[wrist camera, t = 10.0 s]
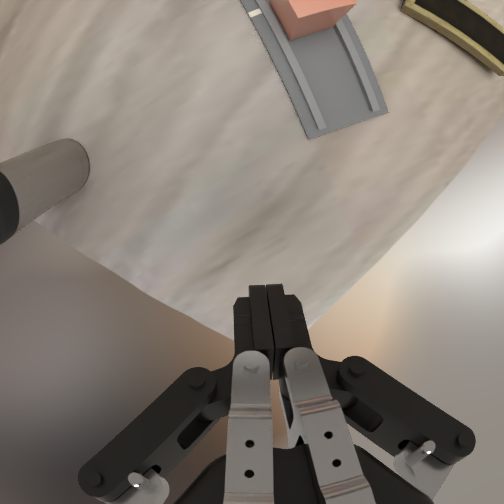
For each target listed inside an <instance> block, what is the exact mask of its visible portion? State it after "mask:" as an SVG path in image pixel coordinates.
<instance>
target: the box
mask: <svg viewBox="0 0 504 504" xmlns="http://www.w3.org/2000/svg"><path fill="white" fill-rule="evenodd" d="M401 12H403V13H405V14H407V15H409V16H411V17H413V18H415V19H416V20H418V21H420V22H422V23H424V24H425V25H427V26H429V27H431V28H432V29H434V30H436V31H437V32H439V33H441V34H442V35H444V36H445V37H447V38H448V39H450V40H451V41H453V42H455V43H456V44H457V45H459V46H460V47H462V48H463V49H465V50H466V51H467V52H469V53H470V54H472V55H473V56H474V57H476V58H477V59H478V60H480V61H481V62H482V63H484V64H485V65H486V66H487V67H489V68H490V69H491V70H493V71H494V72H495V73H496V74H498V75H499V76H504V28H503V27H501V26H500V25H499V24H498V23H496V22H495V21H494V20H493V19H491V18H490V17H489V16H488V15H486V14H485V13H484V12H482V11H481V10H479V9H478V8H477V7H475V6H474V5H472V4H471V3H470V2H468V1H467V0H404V3H403V6H402V9H401Z"/></svg>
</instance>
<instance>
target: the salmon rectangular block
mask: <svg viewBox="0 0 504 504" xmlns="http://www.w3.org/2000/svg"><path fill="white" fill-rule="evenodd" d="M269 4H270V6H271V8H272V10H273V11H274V13H275V15H276V17H277V19H278V20H279V22H280V24H281V26H282V28H283V30H284V32H285V34H286V36H287V37H288V39H289V41H291V40H294V39H297V38H300V37H303V36H306V35H309V34H313V33H316V32H319V31H323V30H326V29H330V28H332V27H333V26H334V25H335V24H336V23H337V22H338V21H339V20H340V19H341V18H342V17H343V16H344V15H345V14H346V13H347V12H348V11H349V10H350V9H351V8H352V7H353V6H354V5H355V4H356V1H355V0H270V2H269Z"/></svg>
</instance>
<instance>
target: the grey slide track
mask: <svg viewBox="0 0 504 504" xmlns="http://www.w3.org/2000/svg"><path fill="white" fill-rule="evenodd" d="M240 1H241V3H242V4H243V6H244V8H245V10H246V11H247V13H248V15H249V17H250V19H251V20H252V22H253V24H254V26H255V28H256V30H257V31H258V33H259V35H260V37H261V39H262V41H263V43H264V45H265V47H266V49H267V51H268V52H269V54H270V56H271V58H272V60H273V62H274V64H275V67H276V69H277V71H278V73H279V75H280V77H281V79H282V81H283V83H284V85H285V87H286V90H287V92H288V94H289V96H290V98H291V100H292V103H293V105H294V107H295V109H296V112H297V114H298V116H299V119H300V121H301V123H302V125H303V128H304V130H305V133H306V135H307V137H308V139H309V140H310V139H313V138H316V137H319V136H321V135H324V134H327V133H329V132H332V131H335V130H338V129H341V128H344V127H347V126H349V125H352V124H355V123H358V122H361V121H364V120H367V119H370V118H373V117H377V116H380V115H383V114H386V113H389V112H388V109H387V106H386V104H385V101H384V98H383V95H382V93H381V90H380V87H379V85H378V82H377V79H376V77H375V74H374V72H373V69H372V67H371V65H370V62H369V60H368V58H367V55H366V53H365V51H364V49H363V46H362V44H361V42H360V40H359V38H358V36H357V34H356V31H355V29H354V27H353V25H352V23H351V21H350V19H349V17H348V16H347V14H345V15H344V16H343V17H342V18H341V19H340V20H339V21H338V22H337V23H336V24H335V25H334V26H333V27H332V28H330V29H326V30H323V31H319V32H316V33H313V34H309V35H306V36H303V37H300V38H297V39H294V40H291V41H289V39H288V37H287V36H286V34H285V32H284V30H283V28H282V26H281V24H280V22H279V20H278V19H277V17H276V15H275V13H274V11H273V10H272V8H271V6H270V4H269V2H270V0H240Z"/></svg>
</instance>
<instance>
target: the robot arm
mask: <svg viewBox="0 0 504 504" xmlns="http://www.w3.org/2000/svg"><path fill="white" fill-rule="evenodd" d="M88 173H89V162H88V157H87V154H86V152H85V150H84V149H83V147H82V146H81V145H80V144H79V143H78V142H76V141H74V140H72V139H62V140H59V141H56V142H53V143H50V144H47V145H44V146H42V147H39V148H36V149H34V150H31V151H29V152H26V153H23V154H21V155H19V156H16V157H14V158H11V159H9V160H7V161H4V162H2V163H0V244H2V243H4V242H5V241H7V240H8V239H9V238H10V237H12V236H13V235H14V234H16V233H17V232H18V231H20V230H21V229H22V228H23V227H25V226H26V225H27V224H29V223H30V222H31V221H33V220H34V219H36V218H37V217H38V216H40V215H41V214H43V213H44V212H45V211H47V210H48V209H50V208H51V207H53V206H54V205H56V204H57V203H59V202H60V201H62V200H63V199H65V198H66V197H68V196H69V195H71V194H73V193H74V192H76V191H77V190H79V189H80V188H81V187H82V186H83V185H84V184H85V182H86V180H87V178H88ZM233 310H234V342H235V355H234V357H233V359H232V361H231V362H230V363H229V364H228V365H227V366H225V367H223V368H221V369H217V370H215V371H209V370H208V369H205V368H202V367H195V368H191V369H188V370H186V371H185V372H184V373H183V374H182V375H181V376H180V377H179V378H178V379H177V380H176V381H174V383H173V384H171V386H169V387H168V388H167V389H166V390H165V391H164V392H163V393H162V394H161V395H160V396H159V397H158V398H157V399H156V400H155V401H154V402H153V403H151V404H150V405H149V406H148V407H147V408H146V409H145V410H144V411H143V412H142V413H141V414H140V415H139V416H138V417H137V418H136V419H134V420H133V421H132V422H131V423H130V424H129V425H128V426H127V427H126V428H125V429H124V430H122V431H121V432H120V433H119V434H118V435H117V436H116V437H115V438H114V439H113V440H112V441H111V442H109V443H108V444H107V445H106V446H105V447H104V448H103V449H102V450H101V451H99V452H98V453H97V454H96V455H95V456H94V457H93V458H91V459H90V460H89V461H88V462H87V463H86V464H85V465H83V466H82V468H81V469H80V471H79V474H78V481H79V485H80V486H81V488H82V490H83V491H84V492H85V493H86V494H88V495H90V496H93V497H95V498H97V499H99V500H101V501H103V502H105V503H106V504H163V503H164V501H165V500H166V498H167V497H168V495H169V486H168V483H167V481H166V480H165V479H164V478H165V477H166V476H167V475H168V474H169V473H170V472H171V471H172V470H173V469H174V468H175V467H176V466H177V465H178V464H179V463H180V462H181V461H182V460H183V459H184V458H185V457H186V455H187V454H188V453H189V452H190V451H191V450H192V449H193V448H194V447H195V446H196V445H197V444H198V443H199V442H200V441H201V439H202V438H203V437H204V436H205V435H206V434H207V433H208V432H209V431H210V430H211V429H212V427H213V426H214V425H215V424H216V423H217V422H218V421H219V419H220V418H221V417H224V416H227V415H229V418H228V435H227V453H226V454H225V455H223V456H221V457H219V458H217V459H215V460H214V461H212V462H211V463H210V464H209V465H207V466H206V467H205V469H204V470H203V471H202V472H201V473H200V475H199V476H198V477H197V478H196V479H195V480H194V481H193V483H192V484H191V485H190V486H189V487H188V488H187V489H186V490H185V491H184V493H183V494H182V495H181V496H180V497H179V498H178V499H177V500H176V501H175V503H173V504H434V503H433V501H432V500H433V498H434V497H435V495H436V493H437V492H438V490H439V489H440V487H441V485H442V484H443V482H444V481H445V479H446V477H447V476H448V474H449V472H450V471H451V469H452V467H453V465H454V464H455V463H456V462H458V461H460V460H461V459H463V458H464V457H466V456H467V455H469V454H470V453H471V452H472V451H473V449H474V447H475V442H476V440H475V435H474V433H473V431H472V430H471V429H470V428H469V427H467V426H466V425H464V424H462V423H461V422H459V421H458V420H456V419H455V418H453V417H451V416H450V415H448V414H447V413H445V412H444V411H442V410H441V409H439V408H438V407H436V406H435V405H433V404H432V403H430V402H429V401H427V400H426V399H424V398H423V397H421V396H420V395H418V394H417V393H415V392H413V391H412V390H411V389H409V388H407V387H406V386H405V385H403V384H402V383H400V382H398V381H397V380H395V379H394V378H393V377H391V376H389V375H388V374H387V373H385V372H384V371H382V370H381V369H379V368H378V367H376V366H375V365H373V364H372V363H370V362H369V361H367V360H366V359H364V358H362V357H359V356H351V357H347V358H345V359H344V360H343V361H342V362H337V361H331V360H326V359H324V358H322V357H320V356H318V355H317V354H316V353H315V352H314V350H313V348H312V346H311V341H310V337H309V333H308V329H307V325H306V321H305V317H304V313H303V309H302V305H301V302H300V301H299V300H298V298H297V297H296V296H295V295H285V294H284V289H283V285H282V284H269V285H266V288H265V285H250V286H249V297H240V298H237V300H236V302H235V304H234V306H233ZM272 375H273V380H275V379H279V384H280V391H279V396H280V400H281V405H282V409H283V414H284V418H285V422H286V427H287V431H288V444H289V449H280V448H273V441H272V411H271V397H270V380H271V379H272ZM347 423H348V424H349V425H350V426H352V427H353V428H354V429H356V430H357V431H358V432H360V433H361V434H362V435H364V436H365V437H367V438H368V439H369V440H371V441H372V442H374V443H375V444H376V445H378V446H379V447H381V448H382V449H384V450H385V451H386V452H388V453H389V454H391V455H392V456H394V467H395V470H396V471H397V472H398V473H399V474H400V475H401V476H402V477H400V476H399V475H398V474H396V473H395V472H394V471H392V470H391V469H390V468H388V467H387V466H385V465H384V464H383V463H382V462H380V461H379V460H377V459H376V458H375V457H374V456H372V455H371V454H370V453H368V452H367V451H366V450H364V449H363V448H361V447H359V446H357V445H355V444H353V442H352V438H351V435H350V432H349V429H348V426H347Z"/></svg>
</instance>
